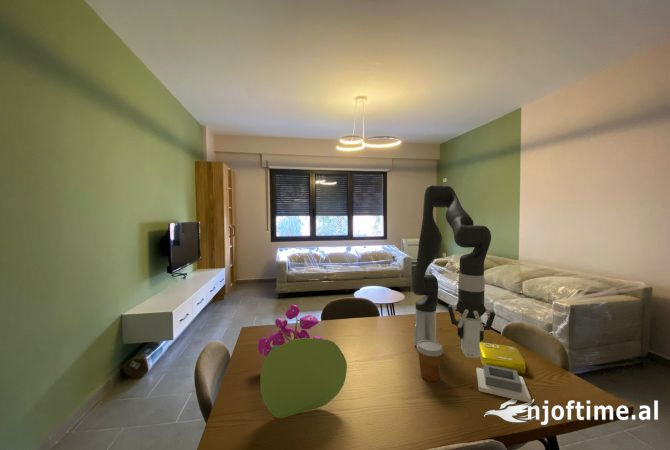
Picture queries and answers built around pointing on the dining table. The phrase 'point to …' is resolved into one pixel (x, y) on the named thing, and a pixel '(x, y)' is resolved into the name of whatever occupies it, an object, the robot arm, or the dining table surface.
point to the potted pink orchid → (299, 368)
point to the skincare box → (471, 338)
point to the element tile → (501, 356)
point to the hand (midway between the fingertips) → (470, 339)
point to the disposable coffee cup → (429, 359)
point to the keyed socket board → (502, 383)
